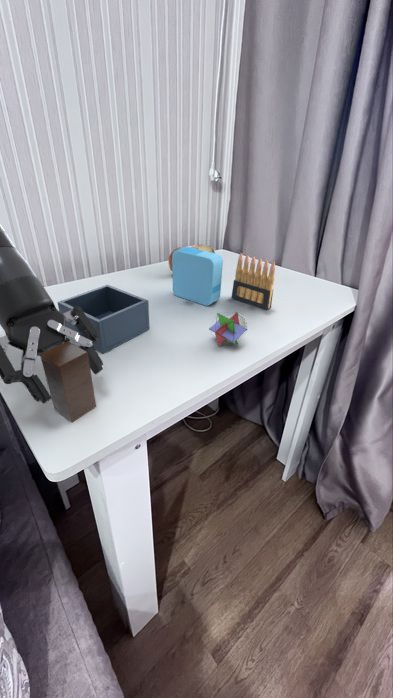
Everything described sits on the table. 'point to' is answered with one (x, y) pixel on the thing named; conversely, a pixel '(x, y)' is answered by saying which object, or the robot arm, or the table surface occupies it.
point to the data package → (197, 275)
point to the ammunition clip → (254, 283)
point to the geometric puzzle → (229, 328)
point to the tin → (200, 247)
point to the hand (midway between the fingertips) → (75, 385)
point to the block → (69, 380)
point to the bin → (110, 315)
